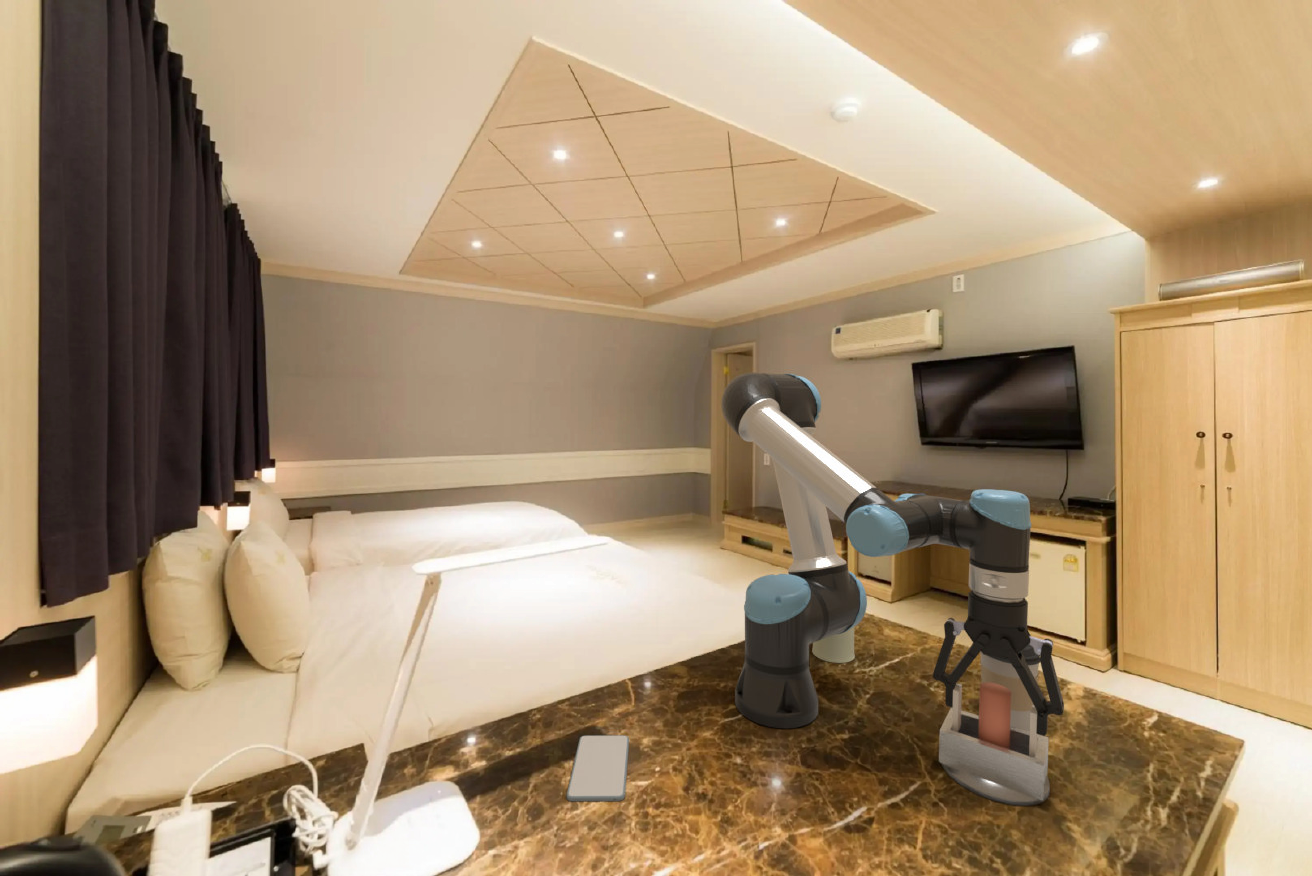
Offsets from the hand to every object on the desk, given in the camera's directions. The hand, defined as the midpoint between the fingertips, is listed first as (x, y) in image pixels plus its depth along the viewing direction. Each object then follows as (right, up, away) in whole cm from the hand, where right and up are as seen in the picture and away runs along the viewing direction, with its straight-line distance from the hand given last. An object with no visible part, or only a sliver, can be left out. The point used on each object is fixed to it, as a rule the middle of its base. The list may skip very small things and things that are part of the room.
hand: (993, 740), depth 81 cm
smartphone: (-60, -6, +2) cm, 60 cm away
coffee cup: (+11, -5, +13) cm, 18 cm away
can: (-11, -3, +40) cm, 42 cm away
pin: (0, -4, 0) cm, 4 cm away
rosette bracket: (0, -5, 0) cm, 5 cm away
